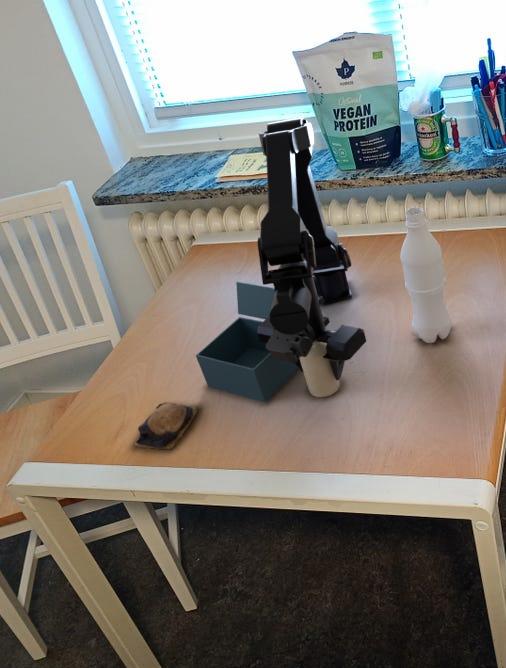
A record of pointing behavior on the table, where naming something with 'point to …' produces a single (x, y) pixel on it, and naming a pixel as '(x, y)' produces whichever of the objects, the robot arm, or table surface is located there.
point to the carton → (243, 363)
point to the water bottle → (424, 278)
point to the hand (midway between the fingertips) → (321, 374)
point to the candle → (319, 371)
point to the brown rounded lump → (165, 426)
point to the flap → (254, 300)
